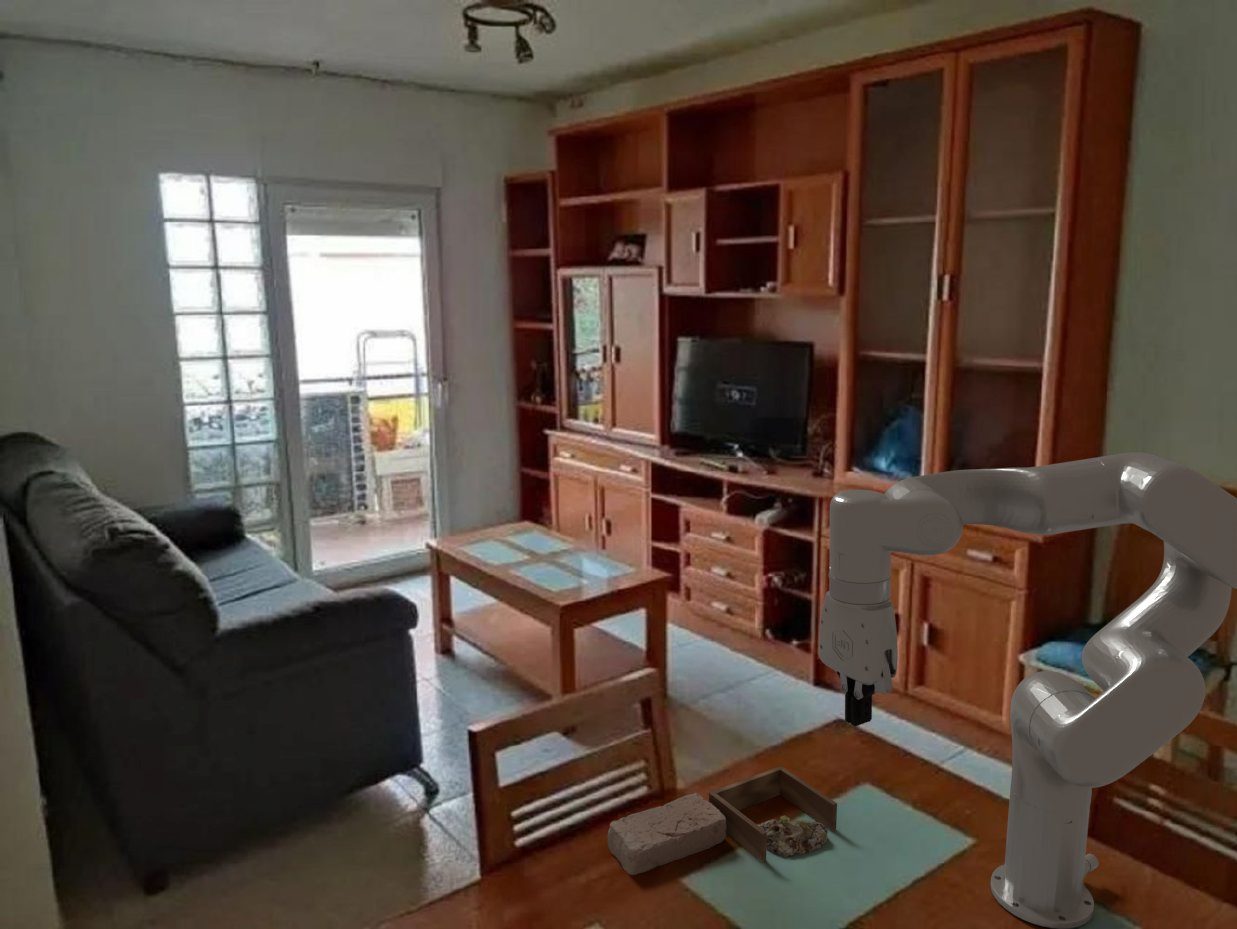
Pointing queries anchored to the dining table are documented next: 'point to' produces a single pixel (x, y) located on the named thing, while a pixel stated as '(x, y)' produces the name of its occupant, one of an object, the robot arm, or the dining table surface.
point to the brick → (666, 833)
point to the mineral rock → (793, 836)
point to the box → (764, 789)
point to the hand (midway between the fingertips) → (858, 721)
